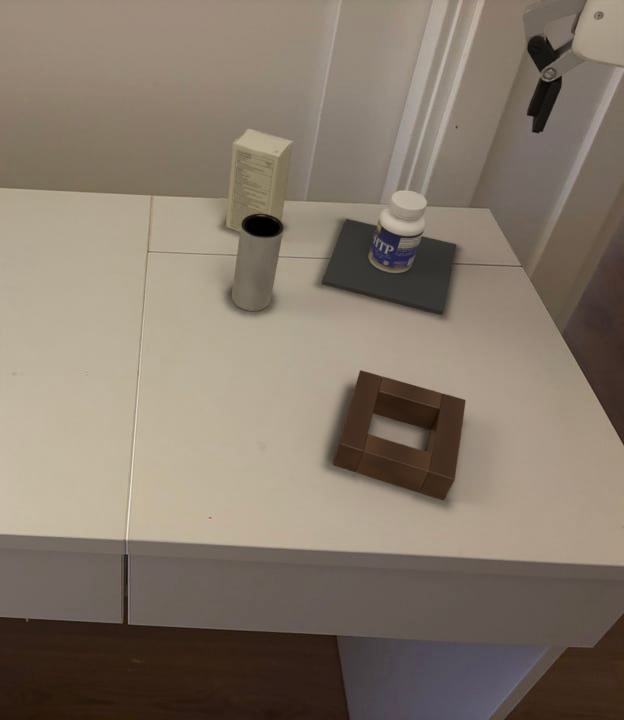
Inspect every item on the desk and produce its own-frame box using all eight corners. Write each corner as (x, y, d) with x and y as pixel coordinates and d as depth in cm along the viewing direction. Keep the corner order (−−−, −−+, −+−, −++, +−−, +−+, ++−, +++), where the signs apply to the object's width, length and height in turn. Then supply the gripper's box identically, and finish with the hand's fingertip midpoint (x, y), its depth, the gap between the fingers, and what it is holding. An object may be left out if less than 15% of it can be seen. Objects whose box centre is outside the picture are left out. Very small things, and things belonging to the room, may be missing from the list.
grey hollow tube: (253, 281, 89) (264, 208, 82) (278, 302, 86) (292, 228, 79) (223, 295, 87) (232, 221, 80) (248, 316, 85) (260, 242, 77)
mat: (455, 247, 95) (456, 244, 94) (442, 315, 85) (443, 311, 85) (345, 222, 98) (346, 218, 98) (321, 284, 89) (322, 280, 89)
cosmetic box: (281, 226, 97) (296, 141, 89) (266, 243, 95) (280, 157, 86) (238, 211, 100) (248, 126, 91) (222, 227, 97) (232, 141, 88)
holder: (455, 421, 74) (466, 399, 72) (443, 500, 67) (454, 479, 65) (353, 391, 77) (360, 369, 74) (332, 464, 70) (339, 443, 68)
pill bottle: (359, 253, 92) (376, 191, 86) (395, 244, 94) (414, 183, 87) (383, 278, 89) (403, 216, 83) (420, 269, 90) (442, 207, 84)
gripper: (879, -118, 46) (722, 138, 58) (576, -146, 50) (489, 96, 62) (916, -87, 41) (736, 186, 53) (576, -121, 45) (482, 137, 57)
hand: (603, 137), depth 58 cm, fingers open, 9 cm apart
